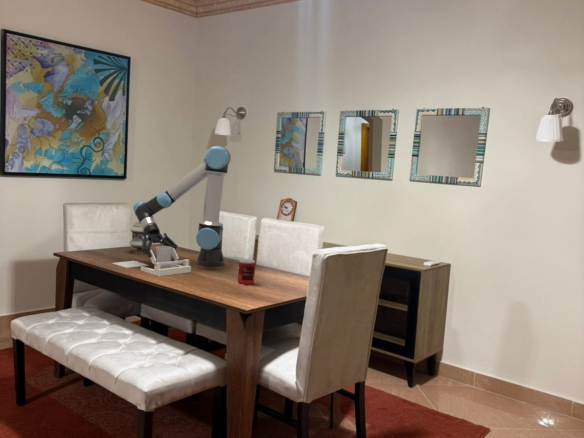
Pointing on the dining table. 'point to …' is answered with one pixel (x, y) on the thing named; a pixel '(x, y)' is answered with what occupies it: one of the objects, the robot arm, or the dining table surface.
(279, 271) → the dining table surface
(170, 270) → the dispenser bay
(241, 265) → the canned food
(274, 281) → the dining table surface
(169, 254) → the cup
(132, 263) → the mat
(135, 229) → the apothecary jar
